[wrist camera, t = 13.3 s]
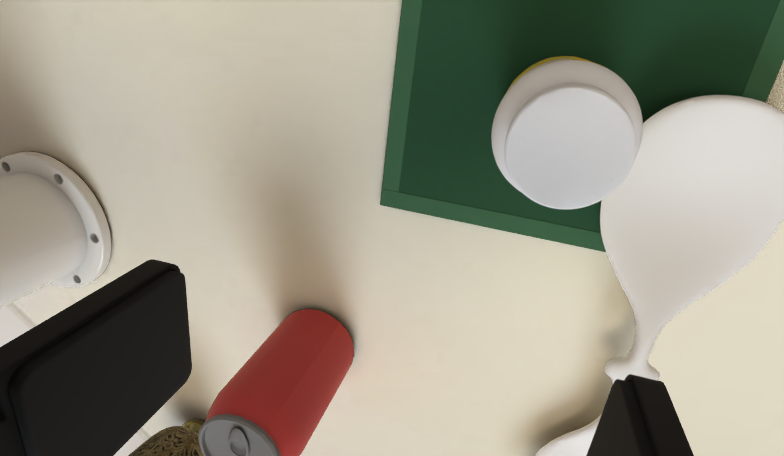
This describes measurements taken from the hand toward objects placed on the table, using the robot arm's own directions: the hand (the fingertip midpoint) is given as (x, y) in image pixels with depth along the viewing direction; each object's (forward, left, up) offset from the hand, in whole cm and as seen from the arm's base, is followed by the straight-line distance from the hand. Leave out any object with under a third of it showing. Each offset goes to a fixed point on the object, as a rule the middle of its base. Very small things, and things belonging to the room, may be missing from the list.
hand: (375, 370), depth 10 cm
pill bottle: (+4, +3, -22) cm, 22 cm away
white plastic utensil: (+12, -11, -22) cm, 27 cm away
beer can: (-10, -18, -22) cm, 30 cm away
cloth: (+4, +3, -22) cm, 23 cm away
